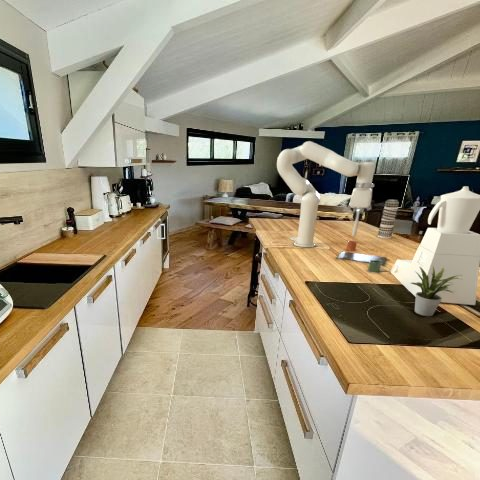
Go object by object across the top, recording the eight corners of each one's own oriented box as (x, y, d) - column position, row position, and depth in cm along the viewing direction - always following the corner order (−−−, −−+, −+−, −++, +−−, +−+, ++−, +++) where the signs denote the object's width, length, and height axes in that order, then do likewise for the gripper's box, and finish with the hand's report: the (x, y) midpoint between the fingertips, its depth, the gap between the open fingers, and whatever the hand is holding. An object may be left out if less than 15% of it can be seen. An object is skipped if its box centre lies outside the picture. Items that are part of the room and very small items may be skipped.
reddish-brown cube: (345, 250, 184) (347, 241, 182) (347, 248, 188) (348, 240, 186) (354, 251, 182) (356, 242, 180) (355, 249, 185) (357, 241, 183)
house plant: (454, 328, 96) (472, 278, 90) (401, 317, 103) (414, 270, 97) (449, 311, 107) (464, 266, 101) (401, 302, 114) (413, 259, 108)
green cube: (367, 272, 147) (369, 261, 145) (368, 269, 150) (371, 259, 148) (378, 273, 144) (381, 263, 142) (379, 271, 148) (382, 261, 146)
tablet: (336, 259, 166) (336, 257, 166) (342, 252, 179) (342, 251, 178) (383, 266, 155) (383, 264, 154) (386, 258, 167) (386, 257, 167)
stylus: (351, 236, 181) (356, 210, 176) (352, 235, 183) (357, 209, 177) (355, 236, 180) (360, 210, 175) (356, 236, 182) (361, 209, 176)
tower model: (391, 238, 212) (400, 200, 202) (376, 237, 216) (384, 200, 207) (392, 236, 219) (401, 199, 210) (377, 235, 223) (385, 198, 214)
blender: (387, 273, 145) (409, 182, 130) (433, 276, 141) (461, 183, 126) (416, 301, 115) (449, 188, 101) (474, 306, 111) (518, 189, 96)
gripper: (380, 186, 170) (373, 220, 177) (348, 185, 178) (343, 218, 185) (378, 187, 164) (371, 222, 171) (346, 186, 173) (340, 219, 179)
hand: (356, 219), depth 178 cm, fingers closed on stylus, 2 cm apart
